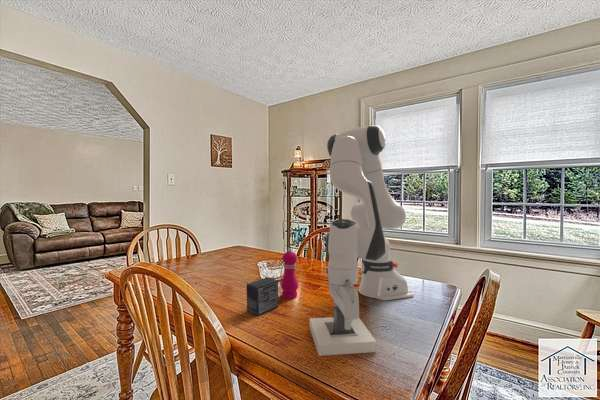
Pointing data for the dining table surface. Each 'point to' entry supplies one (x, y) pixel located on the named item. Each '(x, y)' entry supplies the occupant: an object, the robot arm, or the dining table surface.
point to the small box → (262, 296)
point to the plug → (339, 322)
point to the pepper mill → (289, 276)
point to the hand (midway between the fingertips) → (342, 320)
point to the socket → (341, 338)
